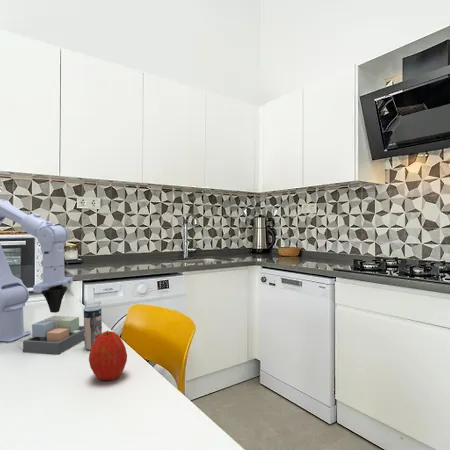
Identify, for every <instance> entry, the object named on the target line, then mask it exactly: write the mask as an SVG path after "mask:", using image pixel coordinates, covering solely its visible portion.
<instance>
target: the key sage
mask: <svg viewBox="0 0 450 450" xmlns="http://www.w3.org/2000/svg"><path fill="white" fill-rule="evenodd" d="M79 326H80V316H65V318H62V319H60V320H58V328H64V329H69V333H71V332H73V331H75V330H77V329H79Z"/></svg>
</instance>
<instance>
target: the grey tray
mask: <svg viewBox="0 0 450 450" xmlns="http://www.w3.org/2000/svg"><path fill="white" fill-rule="evenodd" d="M82 342H84V325H79V329H77V330H75V331H73V332H71V333H69V337H67V338H65V339H63V340H61V341H59V342H47V337H32V336H31V337H29V338H27V339H24V340H23V341H22V351H23V353H30V354H31V353H32V354H47V355H60V354H62V353H64V352H65V351H67V350H69V349H71V348H72V347H75V346H76V345H78V344H80V343H82Z"/></svg>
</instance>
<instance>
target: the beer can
mask: <svg viewBox="0 0 450 450" xmlns="http://www.w3.org/2000/svg"><path fill="white" fill-rule="evenodd" d="M102 322H103V321H102V307H101V305H100V303H88V304H86V305H85V306H84V307H83V326H84V340H83V343H84V349H85V350H88V351H90V350H91V348H92V345H93V343H94V341H95V340H96V338H97V337H98V336H99V335H100V334H101V333H103V326H102V325H103V323H102Z"/></svg>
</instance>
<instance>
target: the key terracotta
mask: <svg viewBox="0 0 450 450" xmlns="http://www.w3.org/2000/svg"><path fill="white" fill-rule="evenodd" d="M67 337H69V329H64V328H56V329H53V330H51V331H49V332H47V342H59V341H61V340H63V339H65V338H67Z"/></svg>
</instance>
